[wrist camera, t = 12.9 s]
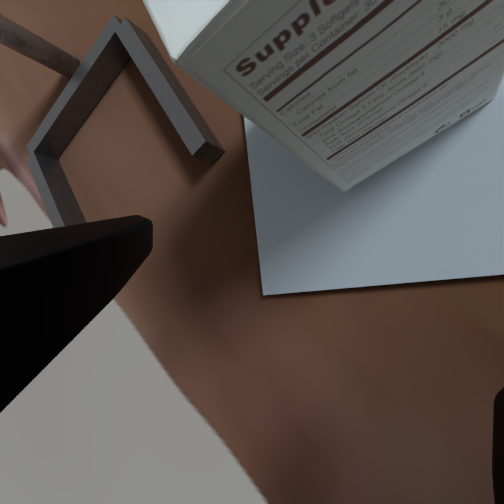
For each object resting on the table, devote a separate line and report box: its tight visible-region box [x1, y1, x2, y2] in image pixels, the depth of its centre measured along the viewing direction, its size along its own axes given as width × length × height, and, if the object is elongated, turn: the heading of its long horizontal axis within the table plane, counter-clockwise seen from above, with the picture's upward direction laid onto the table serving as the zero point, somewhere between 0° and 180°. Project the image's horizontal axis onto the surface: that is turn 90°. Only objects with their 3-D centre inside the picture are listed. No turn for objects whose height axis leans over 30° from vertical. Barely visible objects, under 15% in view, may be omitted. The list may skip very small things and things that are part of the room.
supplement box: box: [143, 0, 504, 192], centre depth 11 cm, size 7×7×13 cm
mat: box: [244, 76, 504, 295], centre depth 16 cm, size 14×14×1 cm
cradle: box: [0, 14, 225, 228], centre depth 21 cm, size 18×14×12 cm
